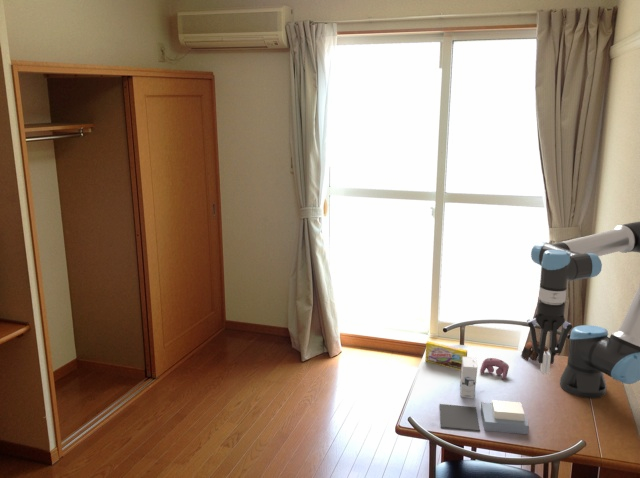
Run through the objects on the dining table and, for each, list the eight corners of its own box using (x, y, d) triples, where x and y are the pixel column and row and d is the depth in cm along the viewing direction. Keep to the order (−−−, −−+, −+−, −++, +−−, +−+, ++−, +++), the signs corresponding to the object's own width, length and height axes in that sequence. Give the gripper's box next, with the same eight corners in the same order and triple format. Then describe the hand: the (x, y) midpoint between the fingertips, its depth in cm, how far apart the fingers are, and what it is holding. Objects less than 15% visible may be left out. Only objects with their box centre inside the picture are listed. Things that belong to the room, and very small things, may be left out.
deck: (521, 413, 190) (522, 405, 189) (527, 434, 178) (528, 425, 178) (480, 410, 192) (481, 402, 191) (484, 430, 181) (485, 421, 180)
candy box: (424, 361, 228) (425, 342, 226) (426, 359, 229) (427, 340, 227) (464, 371, 219) (466, 351, 217) (466, 369, 221) (467, 349, 219)
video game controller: (507, 380, 216) (511, 362, 217) (505, 380, 212) (508, 361, 213) (481, 374, 221) (485, 356, 222) (478, 373, 217) (482, 355, 218)
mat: (475, 408, 193) (476, 407, 193) (479, 431, 180) (479, 430, 180) (439, 405, 195) (439, 403, 195) (440, 427, 182) (440, 426, 182)
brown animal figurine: (518, 352, 237) (528, 336, 236) (539, 365, 234) (550, 348, 234) (521, 357, 225) (532, 340, 224) (543, 371, 223) (554, 353, 222)
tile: (520, 409, 187) (520, 402, 186) (523, 421, 180) (524, 413, 180) (491, 406, 188) (492, 400, 188) (494, 418, 182) (494, 411, 181)
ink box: (459, 385, 209) (461, 355, 206) (474, 386, 208) (476, 356, 205) (460, 397, 200) (462, 366, 198) (475, 398, 199) (477, 367, 197)
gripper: (530, 303, 171) (523, 376, 176) (578, 306, 169) (570, 379, 174) (525, 295, 178) (519, 365, 184) (572, 298, 176) (564, 368, 181)
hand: (544, 372), depth 179 cm, fingers closed
